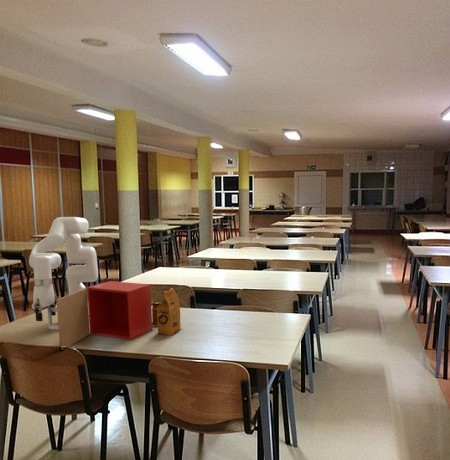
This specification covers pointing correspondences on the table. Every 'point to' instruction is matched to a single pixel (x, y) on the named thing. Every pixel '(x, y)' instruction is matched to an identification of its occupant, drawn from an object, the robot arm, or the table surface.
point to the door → (71, 317)
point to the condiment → (155, 313)
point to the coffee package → (169, 313)
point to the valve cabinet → (120, 309)
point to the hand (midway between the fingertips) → (46, 318)
